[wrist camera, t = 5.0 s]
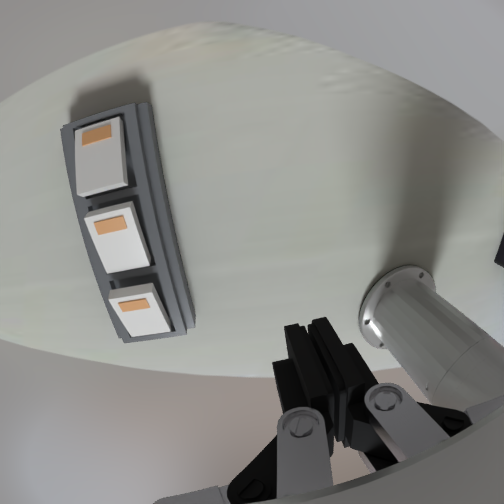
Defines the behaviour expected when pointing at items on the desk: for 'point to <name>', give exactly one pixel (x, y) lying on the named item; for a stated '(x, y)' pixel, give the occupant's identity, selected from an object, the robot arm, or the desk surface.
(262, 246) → the desk surface
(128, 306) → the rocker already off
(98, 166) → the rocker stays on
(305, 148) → the desk surface
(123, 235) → the rocker middle
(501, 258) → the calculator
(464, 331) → the robot arm
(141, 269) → the rocker switch panel
